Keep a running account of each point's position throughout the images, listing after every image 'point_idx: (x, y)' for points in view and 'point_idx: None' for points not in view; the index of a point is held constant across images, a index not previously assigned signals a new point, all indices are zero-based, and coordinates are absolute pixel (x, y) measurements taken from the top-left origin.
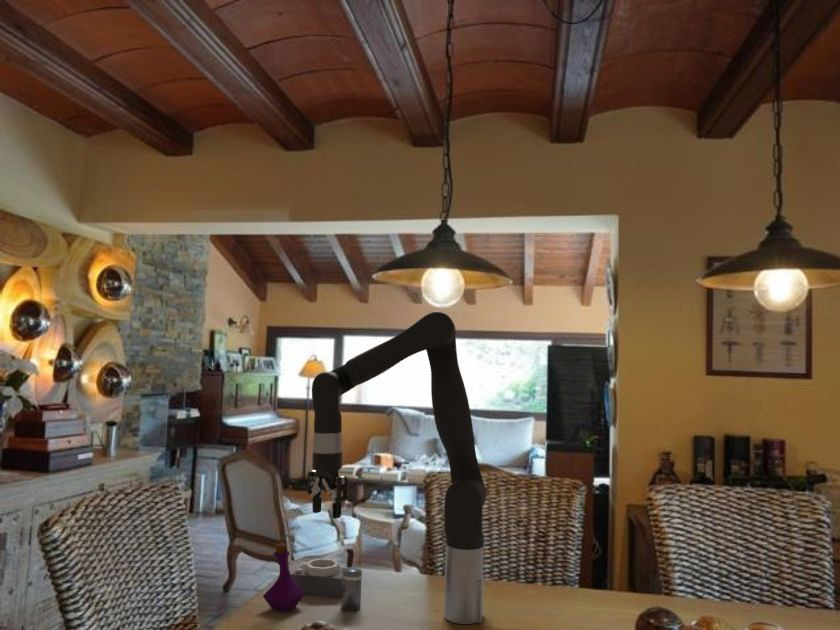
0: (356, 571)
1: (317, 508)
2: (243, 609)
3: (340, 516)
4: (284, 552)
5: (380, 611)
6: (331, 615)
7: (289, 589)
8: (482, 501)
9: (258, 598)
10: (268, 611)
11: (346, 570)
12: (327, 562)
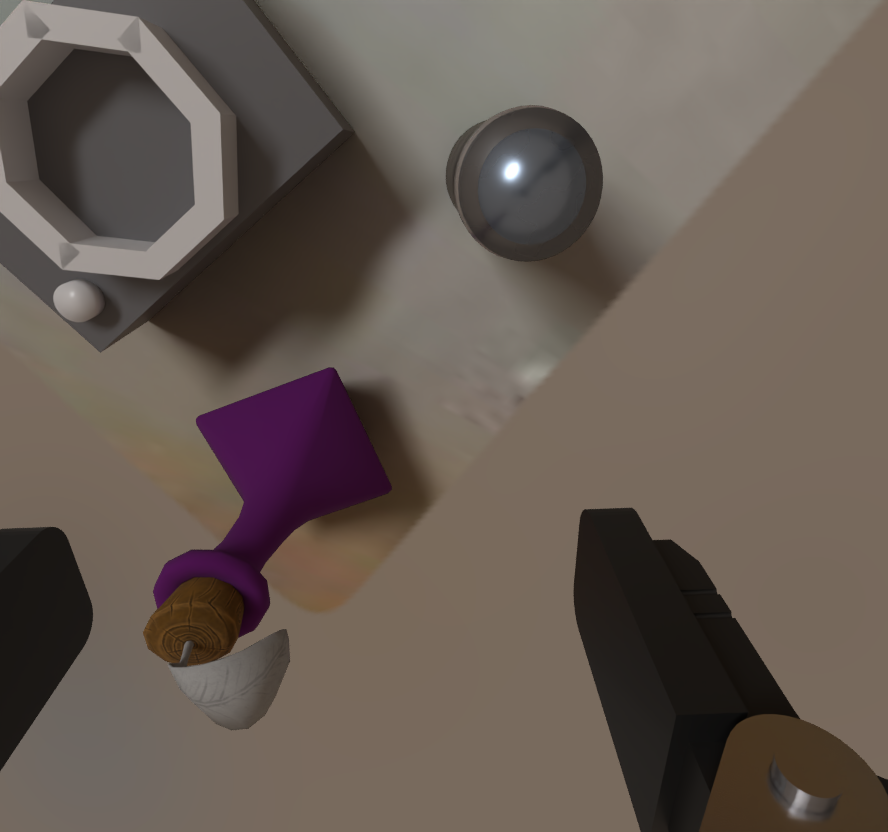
0: (574, 177)
1: (40, 625)
2: None
3: (630, 510)
4: (242, 604)
5: (638, 65)
6: (509, 308)
7: (353, 483)
8: None
9: (140, 460)
10: None
11: (506, 225)
12: (34, 62)
